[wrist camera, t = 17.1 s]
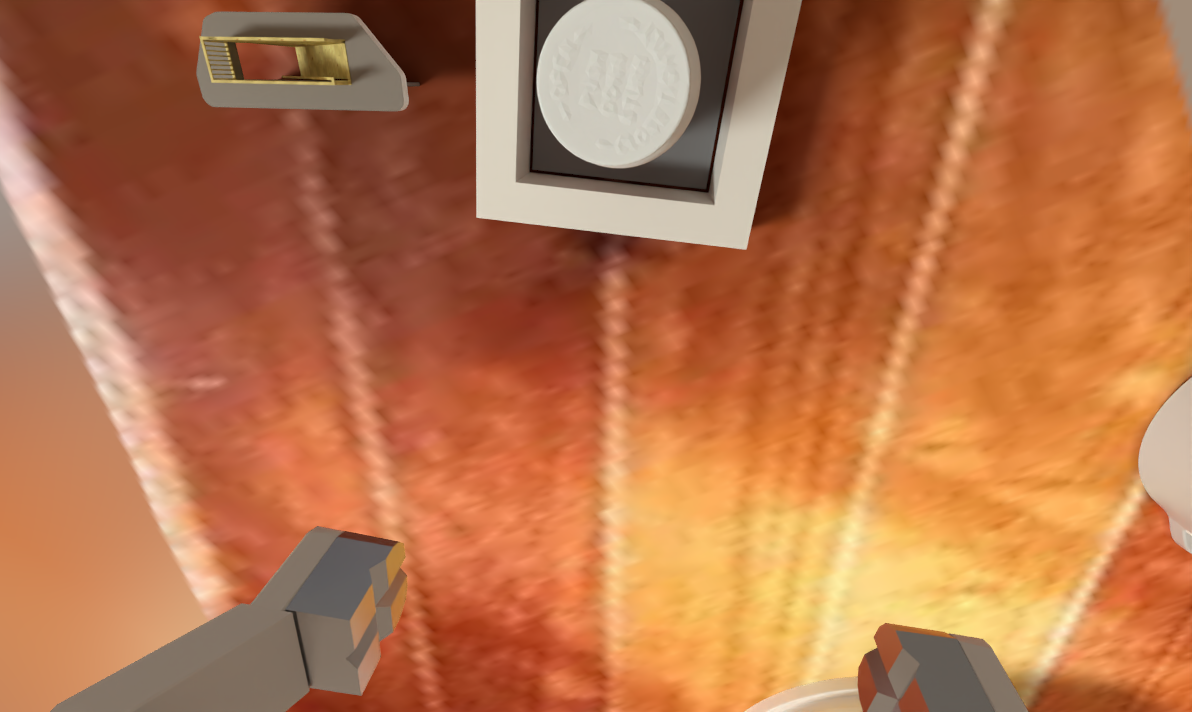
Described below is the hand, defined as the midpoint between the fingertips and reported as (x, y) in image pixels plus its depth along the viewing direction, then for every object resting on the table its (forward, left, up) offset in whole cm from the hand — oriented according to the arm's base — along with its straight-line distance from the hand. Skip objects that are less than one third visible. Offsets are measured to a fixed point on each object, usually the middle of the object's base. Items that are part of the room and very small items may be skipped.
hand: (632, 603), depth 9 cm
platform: (+17, -7, -26) cm, 32 cm away
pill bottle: (+2, -8, -25) cm, 26 cm away
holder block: (+2, -8, -25) cm, 26 cm away
